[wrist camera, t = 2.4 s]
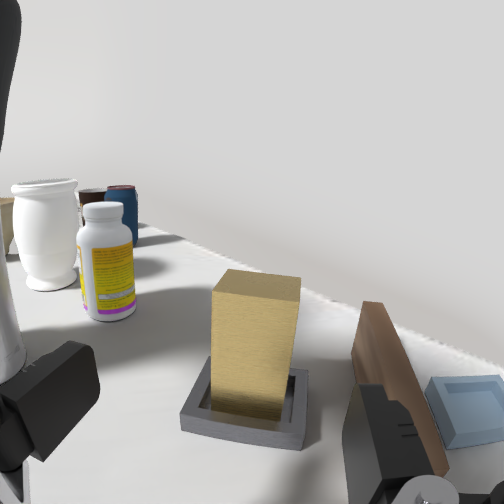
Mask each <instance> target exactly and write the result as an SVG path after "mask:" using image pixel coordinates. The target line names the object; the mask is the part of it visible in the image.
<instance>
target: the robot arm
mask: <svg viewBox="0 0 504 504" xmlns="http://www.w3.org/2000/svg"><path fill="white" fill-rule="evenodd" d="M21 22H22V21H21V11H20V6H19V4H18V2H17V0H0V150H1V145H2V140H3V135H4V126H5V116H6V108H7V101H8V96H9V90H10V85H11V80H12V76H13V71H14V67H15V62H16V57H17V53H18V47H19V42H20V36H21ZM25 360H26V350H25V347H24V343H23V340H22V336H21V332H20V328H19V324H18V320H17V316H16V311H15V307H14V302H13V298H12V293H11V288H10V282H9V277H8V271H7V264H6V257H5V250H4V242H3V233H2V222H1V209H0V384H1V383H3V382H5V381H7V380H9V379H10V378H12V377H13V376H15V375H16V374H17V373H18V372H19V371H20V369H21V368H22V366H23V365H24V363H25ZM99 395H100V383H99V378H98V373H97V368H96V363H95V357H94V352H93V349H92V348H91V347H90V346H89V345H85V344H81V343H78V342H74V341H68V342H66V343H65V344H63V345H62V346H61V347H59V348H58V349H56V350H55V351H54V352H52V353H49V354H47V355H44V356H42V357H40V358H39V359H38V360H36V361H35V362H34V363H32V365H30V366H28V367H27V368H25V369H24V371H21V372H20V373H19V374H17V375H16V376H15V377H13V378H12V379H11V380H9V381H8V382H7V383H5V384H4V385H3V386H1V387H0V504H31V501H30V486H29V465H28V462H27V460H26V458H27V457H28V456H29V455H31V456H33V457H34V458H36V459H38V460H40V461H42V462H44V461H45V460H46V459H47V458H48V456H49V455H50V454H51V453H52V452H53V451H54V450H55V448H56V447H57V446H58V445H59V444H60V443H61V442H62V440H63V439H64V438H65V437H66V436H67V435H68V434H69V433H70V431H71V430H72V429H73V428H74V427H75V426H76V425H77V423H78V422H79V421H80V420H81V419H82V418H83V417H84V416H85V414H86V413H87V412H88V411H89V410H90V409H91V408H92V407H93V405H94V404H95V403H96V402H97V400H98V398H99ZM418 434H419V433H418V431H417V429H416V426H414V421H413V419H412V417H411V414H410V412H409V410H408V409H406V408H405V407H404V406H403V405H402V404H401V403H400V402H399V401H398V400H388V397H387V394H386V392H385V389H384V387H383V385H382V384H369V383H356V384H355V386H354V388H353V391H352V395H351V399H350V403H349V407H348V410H347V414H346V417H345V421H344V425H343V431H342V447H343V454H344V463H345V471H346V480H347V489H348V499H349V504H504V481H502V482H500V483H499V484H498V485H497V486H496V487H495V488H494V489H493V491H492V492H491V493H490V494H463V493H458V491H457V490H456V488H455V487H454V485H453V484H452V483H450V482H449V481H448V480H446V479H444V478H442V477H439V476H435V474H434V471H433V469H432V466H431V463H430V461H429V458H428V456H427V453H426V451H425V448H424V446H423V443H422V441H421V438H420V436H418Z"/></svg>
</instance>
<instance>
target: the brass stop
mask: <svg viewBox="0 0 504 504" xmlns="http://www.w3.org/2000/svg"><path fill="white" fill-rule="evenodd" d="M300 288H301V278H300V277H291V276H282V275H274V274H266V273H257V272H249V271H241V270H233V269H228V270H227V271H226V273H225V274H224V275H223V277H222V278H221V279H220V281H219V282H218V284H217V285H216V286H215V288H214V289H213V290H212V319H211V410H212V411H217V412H222V413H227V414H233V415H238V416H244V417H250V418H257V419H264V420H271V421H279V422H280V419H281V414H282V408H283V403H284V397H285V392H286V386H287V380H288V374H289V368H290V362H291V356H292V350H293V343H294V337H295V330H296V324H297V317H298V310H299V303H300Z"/></svg>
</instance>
